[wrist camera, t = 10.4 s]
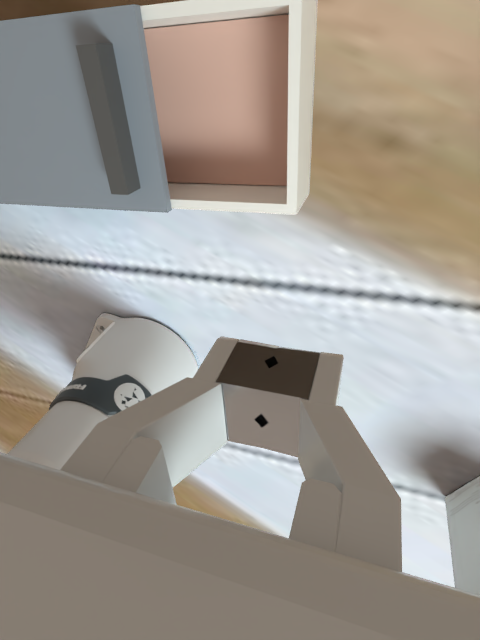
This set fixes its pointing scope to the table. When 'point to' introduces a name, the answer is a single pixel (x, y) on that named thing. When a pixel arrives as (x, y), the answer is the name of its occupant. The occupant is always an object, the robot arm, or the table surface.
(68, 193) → the grey flat rectangular panel
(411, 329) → the table surface
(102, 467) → the robot arm
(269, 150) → the base
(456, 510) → the skincare box
